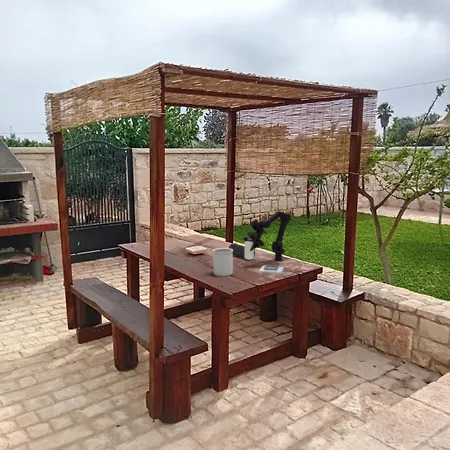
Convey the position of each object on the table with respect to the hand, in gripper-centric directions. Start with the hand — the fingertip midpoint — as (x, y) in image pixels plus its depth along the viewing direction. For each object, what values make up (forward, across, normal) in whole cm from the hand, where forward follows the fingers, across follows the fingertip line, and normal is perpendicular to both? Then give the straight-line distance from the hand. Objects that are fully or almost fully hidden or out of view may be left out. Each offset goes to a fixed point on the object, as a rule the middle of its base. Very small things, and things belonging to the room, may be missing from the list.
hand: (247, 250), depth 327 cm
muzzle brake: (-4, -29, +24) cm, 38 cm away
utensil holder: (+28, 0, -8) cm, 29 cm away
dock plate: (+5, +18, +14) cm, 24 cm away
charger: (+4, 0, +6) cm, 7 cm away
